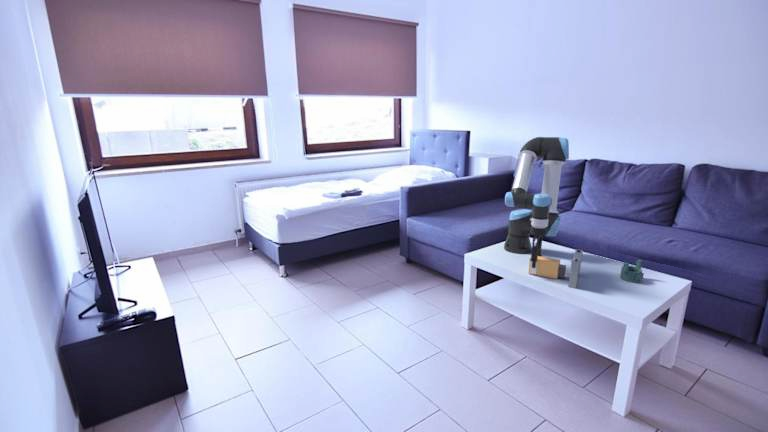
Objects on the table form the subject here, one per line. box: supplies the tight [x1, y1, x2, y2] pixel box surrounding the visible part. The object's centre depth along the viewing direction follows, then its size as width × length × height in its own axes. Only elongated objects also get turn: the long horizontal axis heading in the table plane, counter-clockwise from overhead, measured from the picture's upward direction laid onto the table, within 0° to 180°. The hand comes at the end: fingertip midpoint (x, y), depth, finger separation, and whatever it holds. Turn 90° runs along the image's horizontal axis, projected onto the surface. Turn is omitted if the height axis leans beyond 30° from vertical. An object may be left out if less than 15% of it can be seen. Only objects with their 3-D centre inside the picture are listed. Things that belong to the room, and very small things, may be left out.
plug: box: [528, 255, 567, 280], centre depth 188 cm, size 6×16×8 cm, turn 59°
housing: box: [568, 248, 584, 289], centre depth 181 cm, size 18×3×13 cm, turn 149°
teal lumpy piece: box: [619, 259, 644, 284], centre depth 183 cm, size 9×9×9 cm
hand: (534, 271), depth 192 cm, fingers closed on plug, 5 cm apart
